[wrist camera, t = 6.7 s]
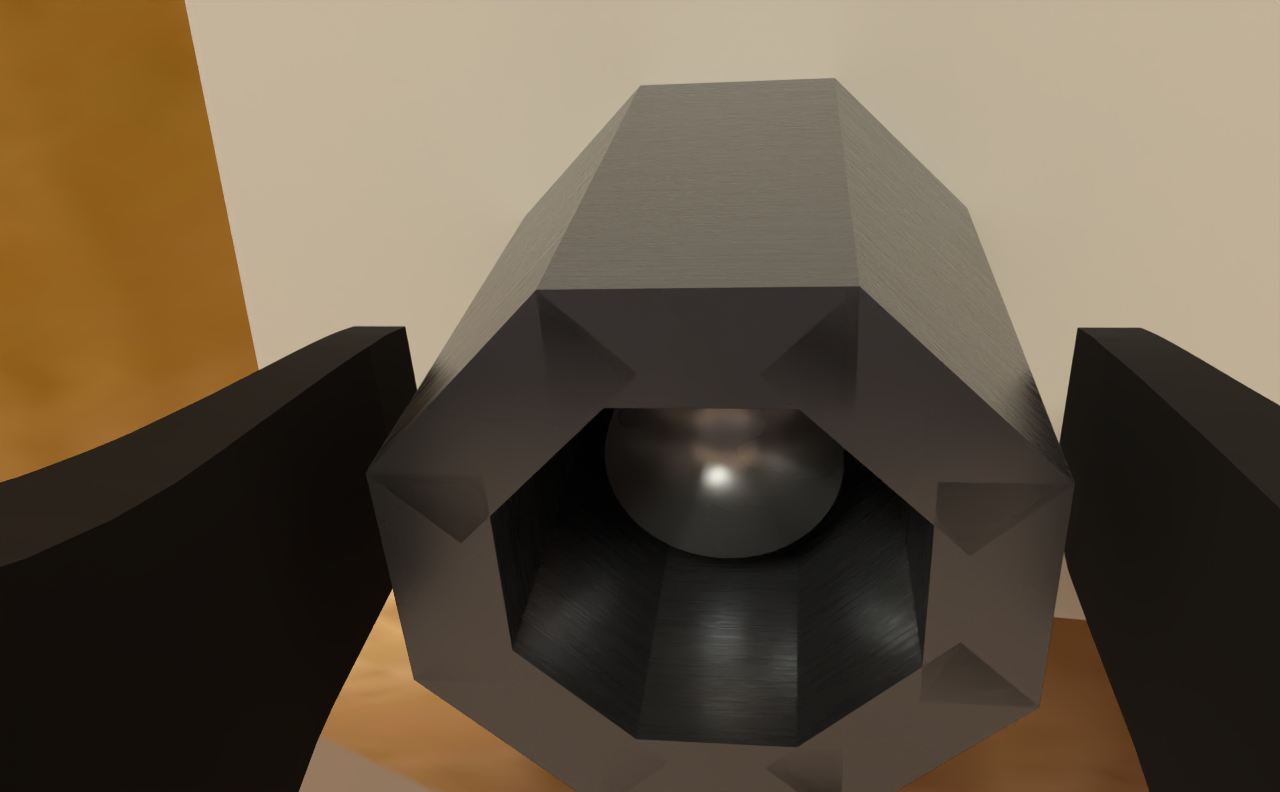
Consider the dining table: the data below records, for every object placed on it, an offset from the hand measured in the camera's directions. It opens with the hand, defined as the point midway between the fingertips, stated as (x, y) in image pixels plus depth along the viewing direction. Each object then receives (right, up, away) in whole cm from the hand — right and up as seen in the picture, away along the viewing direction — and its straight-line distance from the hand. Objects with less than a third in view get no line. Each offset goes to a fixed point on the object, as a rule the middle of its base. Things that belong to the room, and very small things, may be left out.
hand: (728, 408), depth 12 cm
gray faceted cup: (0, +2, +3) cm, 3 cm away
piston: (0, +1, +2) cm, 3 cm away
